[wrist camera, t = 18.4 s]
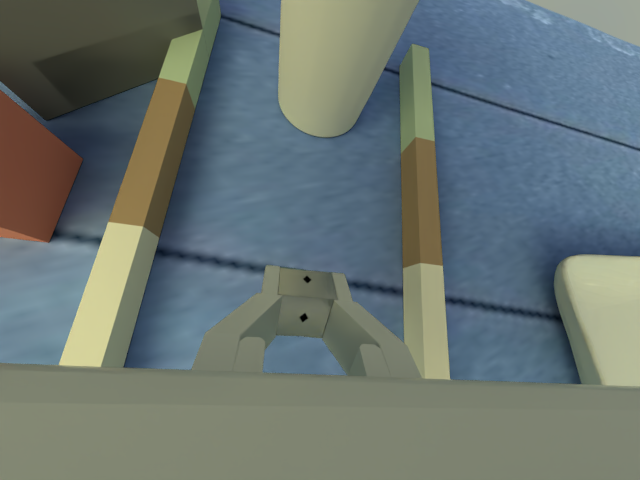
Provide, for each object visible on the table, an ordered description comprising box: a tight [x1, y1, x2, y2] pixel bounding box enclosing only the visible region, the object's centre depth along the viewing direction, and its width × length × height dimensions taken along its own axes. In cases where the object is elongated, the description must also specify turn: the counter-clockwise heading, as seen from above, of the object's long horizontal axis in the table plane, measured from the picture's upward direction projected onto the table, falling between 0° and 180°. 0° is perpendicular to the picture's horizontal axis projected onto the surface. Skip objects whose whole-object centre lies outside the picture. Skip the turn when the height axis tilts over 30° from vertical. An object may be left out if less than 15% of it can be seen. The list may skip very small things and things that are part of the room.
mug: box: [278, 0, 419, 137], centre depth 14 cm, size 10×7×12 cm, turn 144°
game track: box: [59, 0, 450, 379], centre depth 16 cm, size 27×18×2 cm, turn 175°
